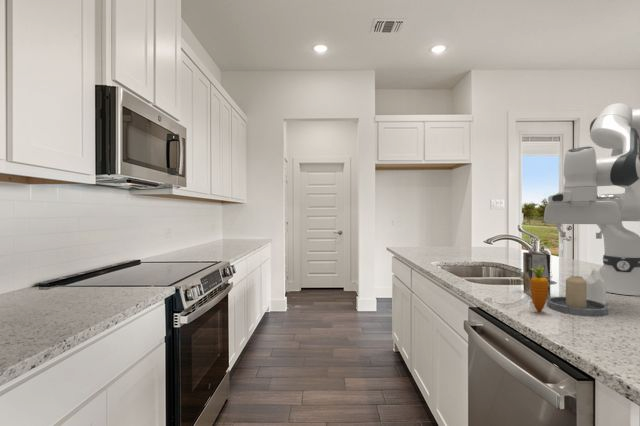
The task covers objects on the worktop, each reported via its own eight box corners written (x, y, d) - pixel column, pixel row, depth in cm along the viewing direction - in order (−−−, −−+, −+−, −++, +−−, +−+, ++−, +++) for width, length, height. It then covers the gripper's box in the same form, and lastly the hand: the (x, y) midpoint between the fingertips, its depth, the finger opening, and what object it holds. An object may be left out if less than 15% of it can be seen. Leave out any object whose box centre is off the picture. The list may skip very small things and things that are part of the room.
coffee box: (550, 298, 128) (550, 254, 128) (531, 297, 129) (531, 254, 129) (540, 292, 137) (540, 251, 137) (522, 291, 138) (522, 251, 138)
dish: (550, 300, 125) (550, 294, 125) (607, 307, 115) (607, 301, 115) (544, 310, 113) (544, 304, 113) (608, 319, 103) (608, 313, 103)
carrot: (542, 315, 107) (542, 267, 107) (526, 311, 111) (526, 265, 111) (551, 313, 109) (551, 266, 109) (535, 309, 114) (535, 264, 113)
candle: (575, 309, 111) (575, 278, 111) (561, 304, 116) (561, 274, 116) (591, 308, 111) (590, 277, 111) (576, 303, 117) (576, 274, 117)
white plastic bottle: (608, 270, 117) (587, 269, 120) (608, 305, 118) (587, 303, 120) (603, 267, 123) (584, 266, 125) (603, 301, 123) (584, 299, 125)
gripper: (621, 195, 109) (621, 238, 110) (545, 197, 122) (545, 236, 123) (622, 194, 104) (622, 240, 105) (542, 197, 117) (543, 237, 118)
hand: (580, 237), depth 114 cm, fingers open, 8 cm apart
